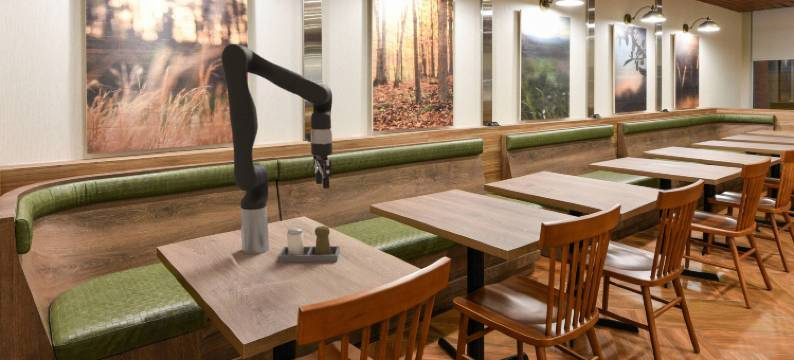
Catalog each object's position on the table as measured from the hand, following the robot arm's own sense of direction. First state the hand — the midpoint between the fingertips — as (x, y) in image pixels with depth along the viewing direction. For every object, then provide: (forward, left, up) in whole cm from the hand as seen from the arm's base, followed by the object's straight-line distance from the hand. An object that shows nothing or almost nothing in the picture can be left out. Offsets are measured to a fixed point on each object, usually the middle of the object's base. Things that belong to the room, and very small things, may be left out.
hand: (322, 186), depth 197 cm
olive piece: (-3, -6, -25) cm, 25 cm away
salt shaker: (-11, -2, -25) cm, 27 cm away
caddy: (-7, -4, -25) cm, 27 cm away
